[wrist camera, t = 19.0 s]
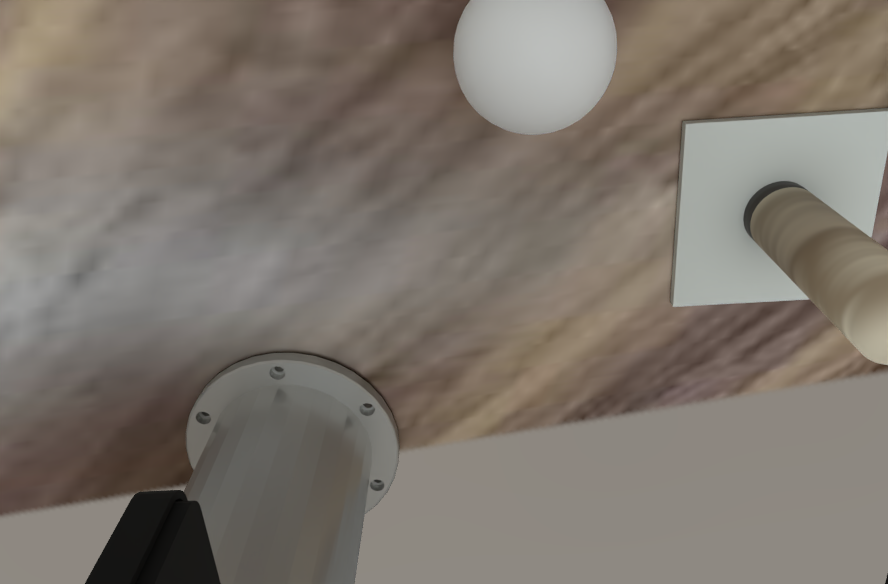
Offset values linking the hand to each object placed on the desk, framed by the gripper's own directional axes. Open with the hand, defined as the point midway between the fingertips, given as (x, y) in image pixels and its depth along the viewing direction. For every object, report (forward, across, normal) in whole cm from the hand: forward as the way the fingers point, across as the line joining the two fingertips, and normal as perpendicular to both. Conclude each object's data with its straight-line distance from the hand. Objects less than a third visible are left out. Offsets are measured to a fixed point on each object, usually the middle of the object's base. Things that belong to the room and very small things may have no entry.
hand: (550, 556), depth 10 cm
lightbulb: (+31, -2, -3) cm, 31 cm away
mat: (+30, -15, +7) cm, 35 cm away
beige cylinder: (+30, -15, +7) cm, 34 cm away
